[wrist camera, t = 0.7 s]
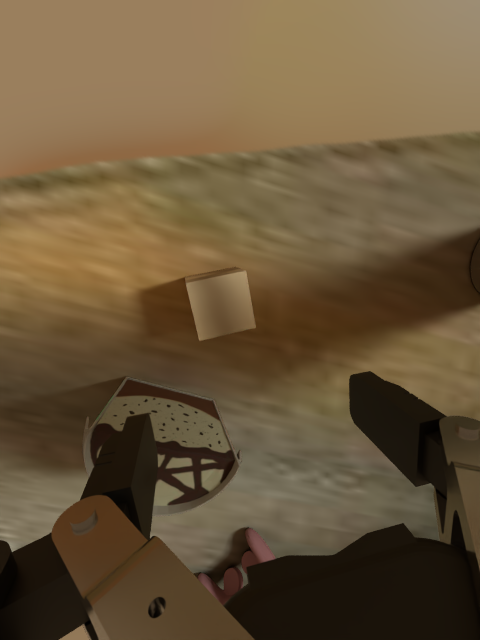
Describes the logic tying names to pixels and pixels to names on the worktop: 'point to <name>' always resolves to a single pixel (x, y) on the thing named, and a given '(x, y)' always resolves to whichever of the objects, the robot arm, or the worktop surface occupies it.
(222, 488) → the food container
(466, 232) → the worktop surface
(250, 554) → the pink toy figure
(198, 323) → the birch cube
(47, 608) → the robot arm
